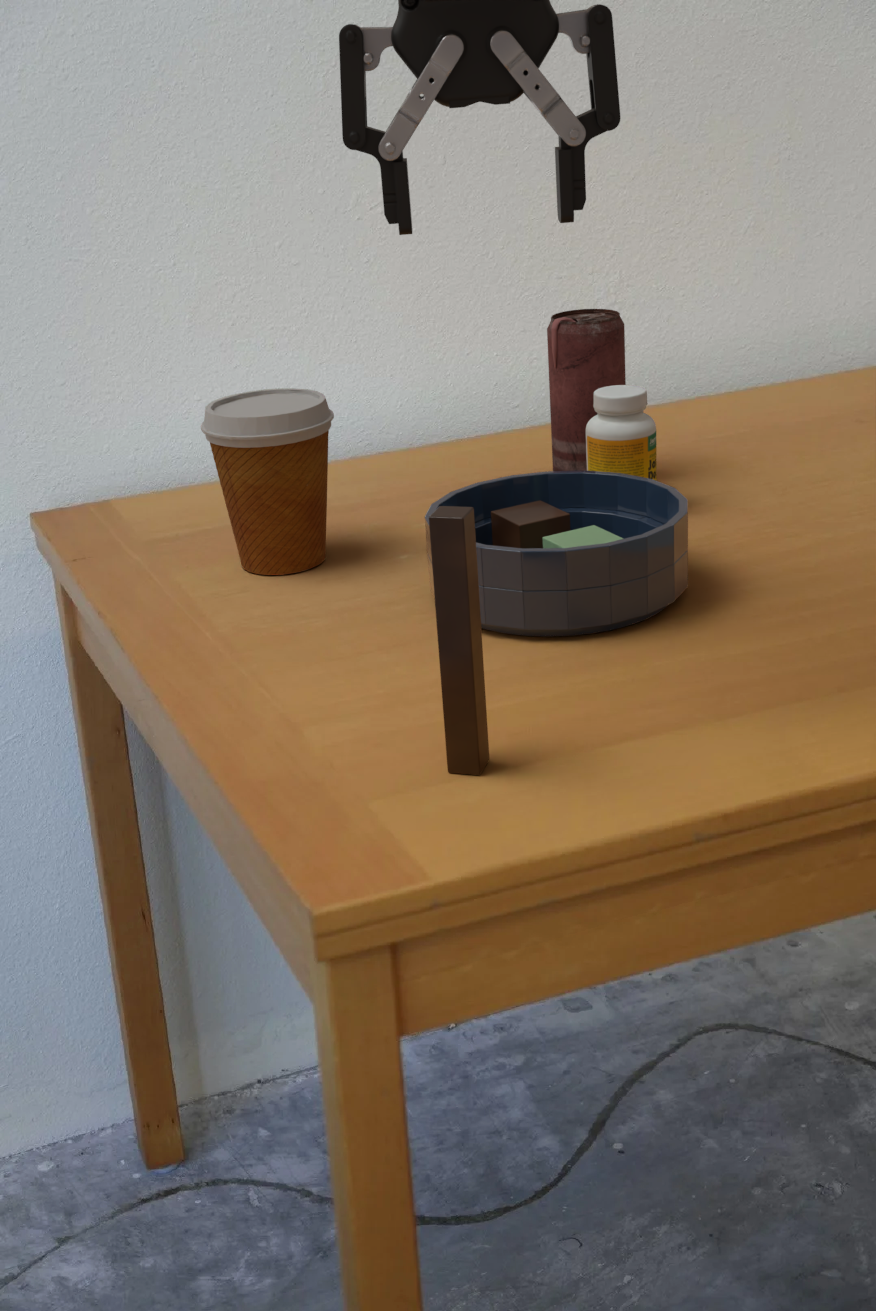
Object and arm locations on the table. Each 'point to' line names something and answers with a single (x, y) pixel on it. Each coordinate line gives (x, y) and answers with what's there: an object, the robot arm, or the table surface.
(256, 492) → the disposable coffee cup
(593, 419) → the supplement bottle
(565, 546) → the green block
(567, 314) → the can
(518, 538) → the walnut block
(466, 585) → the stick
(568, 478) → the bowl
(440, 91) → the robot arm
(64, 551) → the table surface
